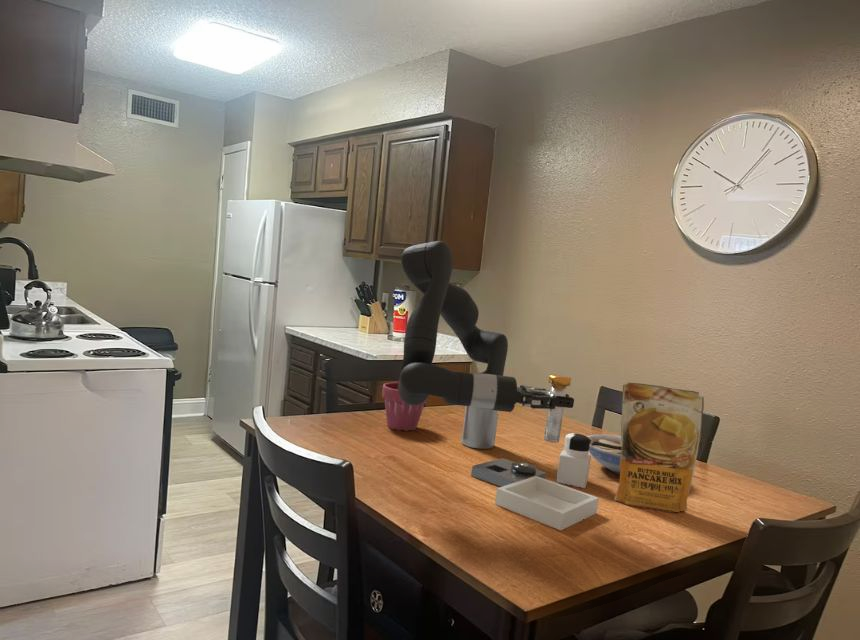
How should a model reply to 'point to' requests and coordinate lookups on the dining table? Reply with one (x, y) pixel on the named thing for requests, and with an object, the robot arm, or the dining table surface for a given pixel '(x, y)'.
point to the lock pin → (556, 408)
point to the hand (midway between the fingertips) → (570, 400)
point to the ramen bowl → (606, 451)
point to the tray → (547, 502)
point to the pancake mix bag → (658, 446)
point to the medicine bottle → (574, 461)
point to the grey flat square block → (505, 472)
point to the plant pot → (400, 409)
